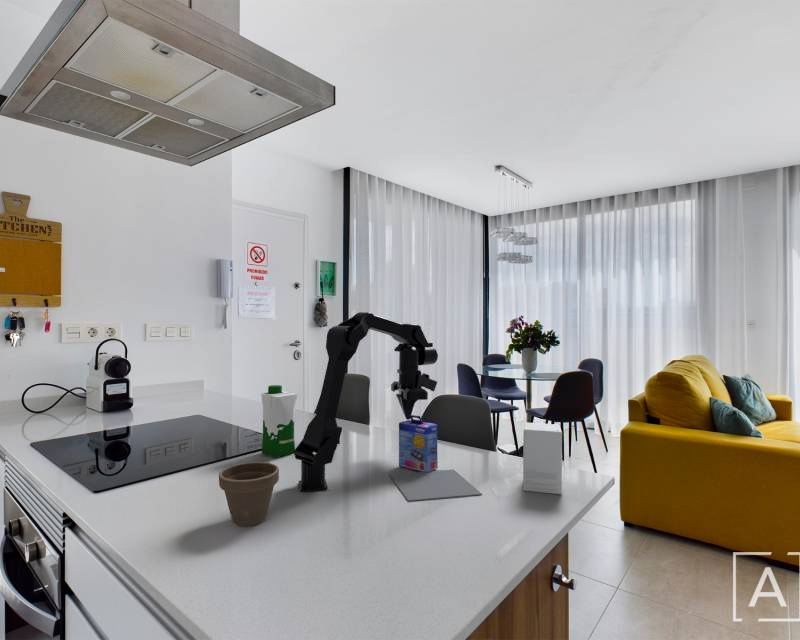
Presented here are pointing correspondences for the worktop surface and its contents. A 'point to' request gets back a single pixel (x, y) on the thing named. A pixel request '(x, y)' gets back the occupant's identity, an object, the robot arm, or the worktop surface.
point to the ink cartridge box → (418, 445)
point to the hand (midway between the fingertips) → (407, 419)
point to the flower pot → (249, 490)
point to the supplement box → (542, 458)
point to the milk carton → (278, 422)
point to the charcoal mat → (433, 485)
